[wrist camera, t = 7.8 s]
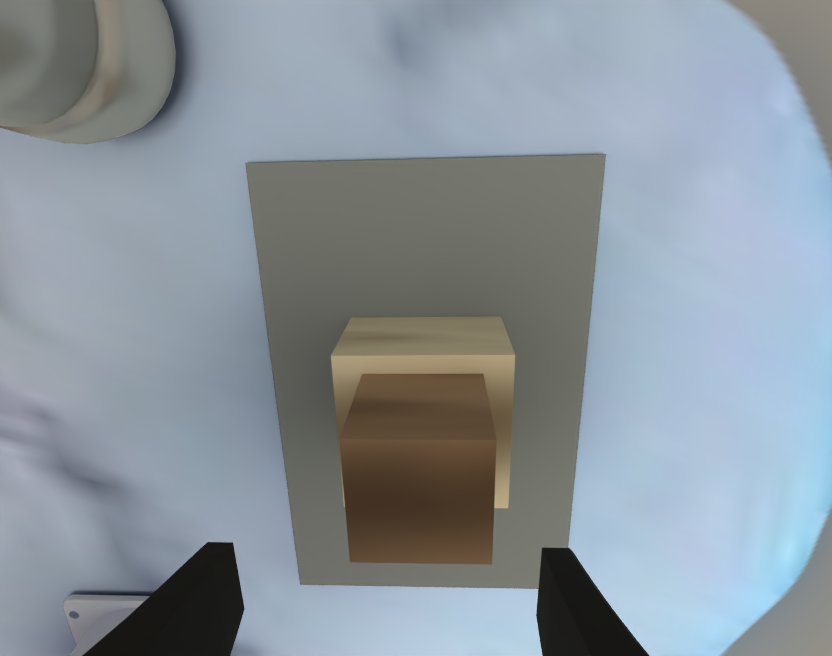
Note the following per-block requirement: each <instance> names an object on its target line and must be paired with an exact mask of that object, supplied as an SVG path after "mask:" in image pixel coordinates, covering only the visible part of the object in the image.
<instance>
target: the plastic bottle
mask: <svg viewBox="0 0 832 656" xmlns="http://www.w3.org/2000/svg"><path fill="white" fill-rule="evenodd" d="M175 61H176V50H175V42H174V34H173V30H172V26H171V23H170V20H169V16H168V13H167V10H166V8H165V6H164V4H163V2H162V0H0V127H1V128H4V129H7V130H10V131H14V132H18V133H21V134H25V135H29V136H33V137H37V138H42V139H47V140H52V141H58V142H63V143H73V144H90V143H96V142H102V141H106V140H110V139H113V138H117V137H120V136H124V135H126V134H129V133H131V132H134V131H136V130H139V129H140V128H142V127H143V126H144V125H146V124H147V123H148V122H150V121H151V120H152V119H153V118H154V117H155V116H156V114H157V113H158V112H159V111H160V109H161V108H162V107H163V105H164V103H165V101H166V99H167V97H168V95H169V93H170V91H171V87H172V83H173V79H174V75H175Z"/></svg>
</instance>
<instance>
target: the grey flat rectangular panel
mask: <svg viewBox="0 0 832 656" xmlns="http://www.w3.org/2000/svg"><path fill="white" fill-rule="evenodd" d="M605 158H606V154H596V155H555V156H514V157H473V158H432V159H391V160H350V161H308V162H267V163H245V164H246V171H247V179H248V187H249V194H250V202H251V210H252V218H253V225H254V233H255V241H256V248H257V256H258V264H259V271H260V279H261V287H262V295H263V302H264V310H265V318H266V325H267V333H268V341H269V348H270V356H271V364H272V372H273V379H274V387H275V395H276V402H277V410H278V418H279V426H280V433H281V441H282V449H283V456H284V464H285V472H286V479H287V487H288V495H289V503H290V510H291V518H292V526H293V533H294V541H295V549H296V556H297V564H298V572H299V580H300V585H354V586H411V587H468V588H525V589H539V577H540V565H541V552H542V548H568V542H569V531H570V521H571V511H572V500H573V490H574V479H575V469H576V459H577V448H578V438H579V428H580V417H581V407H582V397H583V386H584V376H585V366H586V355H587V345H588V335H589V324H590V314H591V303H592V293H593V283H594V272H595V262H596V252H597V241H598V231H599V221H600V210H601V200H602V190H603V179H604V169H605ZM480 316H501V318H502V321H503V323H504V326H505V329H506V331H507V334H508V337H509V339H510V342H511V345H512V347H513V350H514V353H515V372H514V394H513V416H512V438H511V460H510V482H509V504H508V508H494V528H493V557H492V565H483V564H419V563H356V562H350V559H349V547H348V535H347V523H346V511H345V507H344V503H343V491H342V480H341V468H340V456H339V445H338V433H337V422H336V410H335V399H334V387H333V376H332V364H331V354H332V353H333V351H334V349H335V347H336V345H337V343H338V341H339V339H340V337H341V336H342V334H343V332H344V330H345V328H346V326H347V324H348V322H349V320H350V319H351V318H367V317H480Z"/></svg>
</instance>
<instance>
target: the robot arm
mask: <svg viewBox="0 0 832 656" xmlns="http://www.w3.org/2000/svg"><path fill="white" fill-rule="evenodd" d="M63 608H64V611H65V614H66V617H67V620H68V623H69V626H70V629H71V632H72V635H73V638H74V641H75V644H76V647H75V648H74V649H73V651H72V652H71V654H70V655H69V656H230V654H231V651H232V648H233V645H234V642H235V638H236V635H237V632H238V629H239V625H240V622H241V619H242V615H243V612H244V604H243V598H242V592H241V587H240V581H239V575H238V569H237V564H236V558H235V552H234V546H233V543H223V542H207V543H206V544H205V545H204V546H203V547H202V548H201V549H200V550H199V551H198V552H197V553H195V554H194V555H193V556H192V557H191V558H190V559H189V560H188V561H187V562H186V563H185V564H184V565H183V566H182V567H181V568H179V569H178V570H177V571H176V572H175V573H174V574H173V575H172V576H171V577H170V578H169V579H168V580H167V581H166V582H165V583H164V584H163V585H161V586H160V587H159V588H158V589H157V590H156V591H155V592H154V593H153V594H152V595H151V596H121V595H70V596H68V597H67V599H66V600H65V601H64V602H63ZM536 616H537V622H538V629H539V636H540V642H541V648H542V654H543V656H649V655H648V653H647V652H646V651H645V650H644V649H643V647H642V646H641V645H640V644H639V642H638V641H637V640H636V639H635V637H634V636H633V635H632V634H631V632H630V631H629V630H628V628H627V627H626V626H625V625H624V623H623V622H622V621H621V619H620V618H619V617H618V616H617V614H616V613H615V612H614V610H613V609H612V608H611V606H610V605H609V604H608V602H607V601H606V599H605V598H604V597H603V595H602V594H601V592H600V591H599V590H598V588H597V587H596V585H595V584H594V583H593V581H592V580H591V578H590V577H589V575H588V574H587V572H586V571H585V569H584V568H583V566H582V565H581V563H580V562H579V560H578V559H577V557H576V556H575V554H574V553H573V551H572V550H570V549H569V548H542V552H541V565H540V577H539V590H538V602H537V615H536Z"/></svg>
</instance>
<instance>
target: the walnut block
mask: <svg viewBox="0 0 832 656" xmlns="http://www.w3.org/2000/svg"><path fill="white" fill-rule="evenodd" d="M339 441H340V452H341V464H342V476H343V488H344V500H345V511H346V523H347V535H348V547H349V559H350V562H356V563H419V564H483V565H492V557H493V528H494V500H495V471H496V443H497V439H496V434H495V429H494V424H493V419H492V414H491V409H490V404H489V399H488V394H487V389H486V384H485V379H484V374H362V376H361V378H360V381H359V384H358V387H357V390H356V393H355V396H354V399H353V402H352V404H351V407H350V410H349V413H348V416H347V419H346V422H345V425H344V427H343V430H342V433H341V436H340V439H339Z"/></svg>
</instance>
